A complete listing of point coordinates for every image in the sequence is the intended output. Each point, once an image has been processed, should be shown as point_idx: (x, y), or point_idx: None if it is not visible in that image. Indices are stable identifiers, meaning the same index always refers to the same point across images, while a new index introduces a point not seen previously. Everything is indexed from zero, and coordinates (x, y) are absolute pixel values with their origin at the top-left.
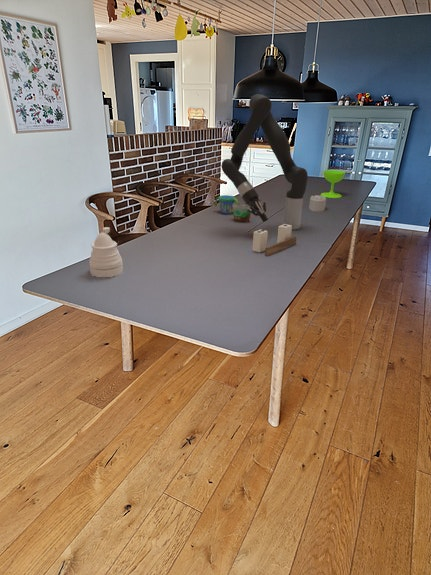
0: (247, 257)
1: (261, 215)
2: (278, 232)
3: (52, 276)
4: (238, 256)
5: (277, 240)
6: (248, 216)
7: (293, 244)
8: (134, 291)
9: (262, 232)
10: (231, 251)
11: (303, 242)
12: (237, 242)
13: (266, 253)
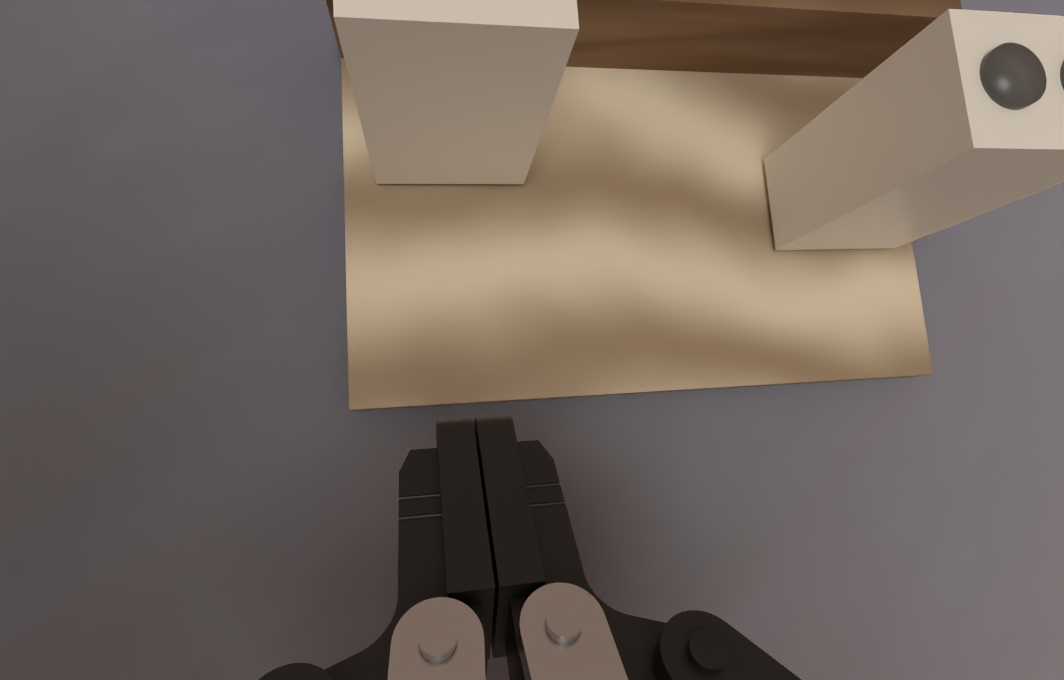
0: (979, 215)
1: (581, 571)
2: (553, 92)
3: None
4: (1027, 290)
5: (530, 161)
6: None
7: None
8: None
9: (1060, 32)
10: (1001, 435)
11: (122, 46)
12: (769, 619)
13: None
